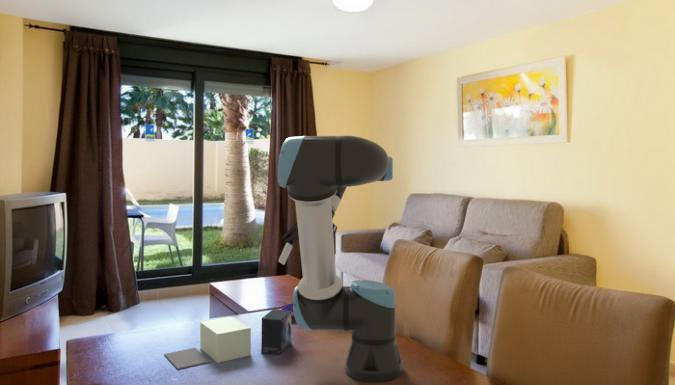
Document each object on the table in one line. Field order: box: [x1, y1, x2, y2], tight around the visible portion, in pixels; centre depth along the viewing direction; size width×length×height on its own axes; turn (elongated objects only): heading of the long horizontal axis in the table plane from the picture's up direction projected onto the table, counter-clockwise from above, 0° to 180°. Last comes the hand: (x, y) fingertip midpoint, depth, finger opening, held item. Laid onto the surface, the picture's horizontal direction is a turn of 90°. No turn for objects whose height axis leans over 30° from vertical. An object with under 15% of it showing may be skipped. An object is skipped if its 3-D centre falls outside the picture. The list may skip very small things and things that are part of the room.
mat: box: [163, 347, 211, 371], centre depth 138 cm, size 13×9×1 cm
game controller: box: [273, 300, 294, 320], centre depth 178 cm, size 10×8×10 cm
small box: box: [260, 308, 292, 355], centre depth 146 cm, size 11×6×10 cm, turn 168°
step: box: [199, 316, 252, 364], centre depth 143 cm, size 14×10×8 cm
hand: (297, 268), depth 150 cm, fingers open, 13 cm apart
